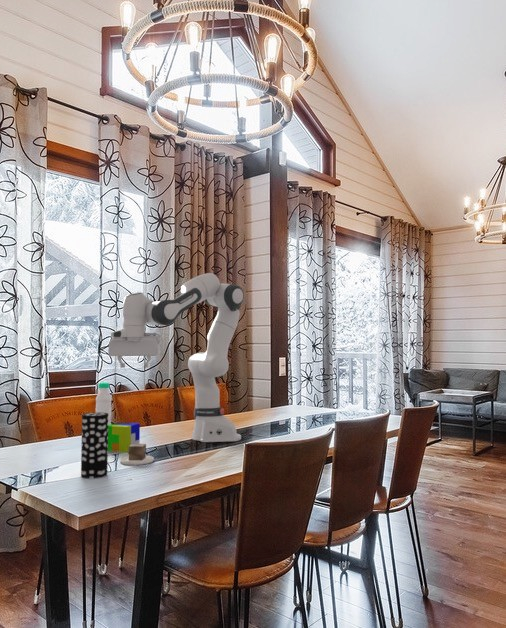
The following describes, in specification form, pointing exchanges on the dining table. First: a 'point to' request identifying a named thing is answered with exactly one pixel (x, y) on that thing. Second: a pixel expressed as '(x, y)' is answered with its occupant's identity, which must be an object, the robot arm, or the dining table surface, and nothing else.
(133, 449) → the walnut block
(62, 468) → the dining table surface
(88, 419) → the spotted tube
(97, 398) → the water bottle
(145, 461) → the saucer
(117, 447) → the puzzle toy
